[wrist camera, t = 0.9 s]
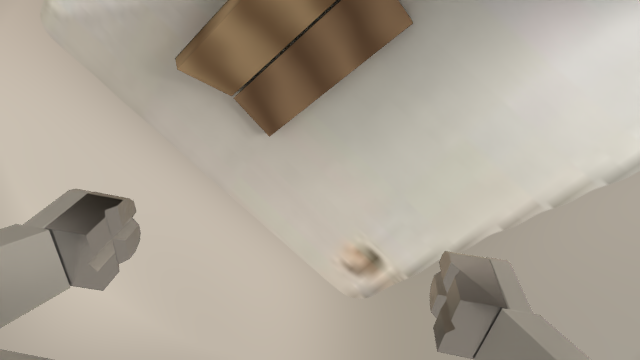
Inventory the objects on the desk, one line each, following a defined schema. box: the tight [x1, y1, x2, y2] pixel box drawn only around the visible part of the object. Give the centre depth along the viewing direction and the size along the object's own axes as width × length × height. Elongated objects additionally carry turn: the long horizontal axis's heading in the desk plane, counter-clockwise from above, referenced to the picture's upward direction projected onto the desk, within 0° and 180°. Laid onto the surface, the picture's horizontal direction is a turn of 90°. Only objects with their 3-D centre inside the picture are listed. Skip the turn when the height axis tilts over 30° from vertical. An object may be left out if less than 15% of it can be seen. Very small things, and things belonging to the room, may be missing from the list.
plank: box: [175, 0, 336, 96], centre depth 35 cm, size 20×7×2 cm
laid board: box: [234, 0, 413, 137], centre depth 39 cm, size 20×6×2 cm, turn 130°
